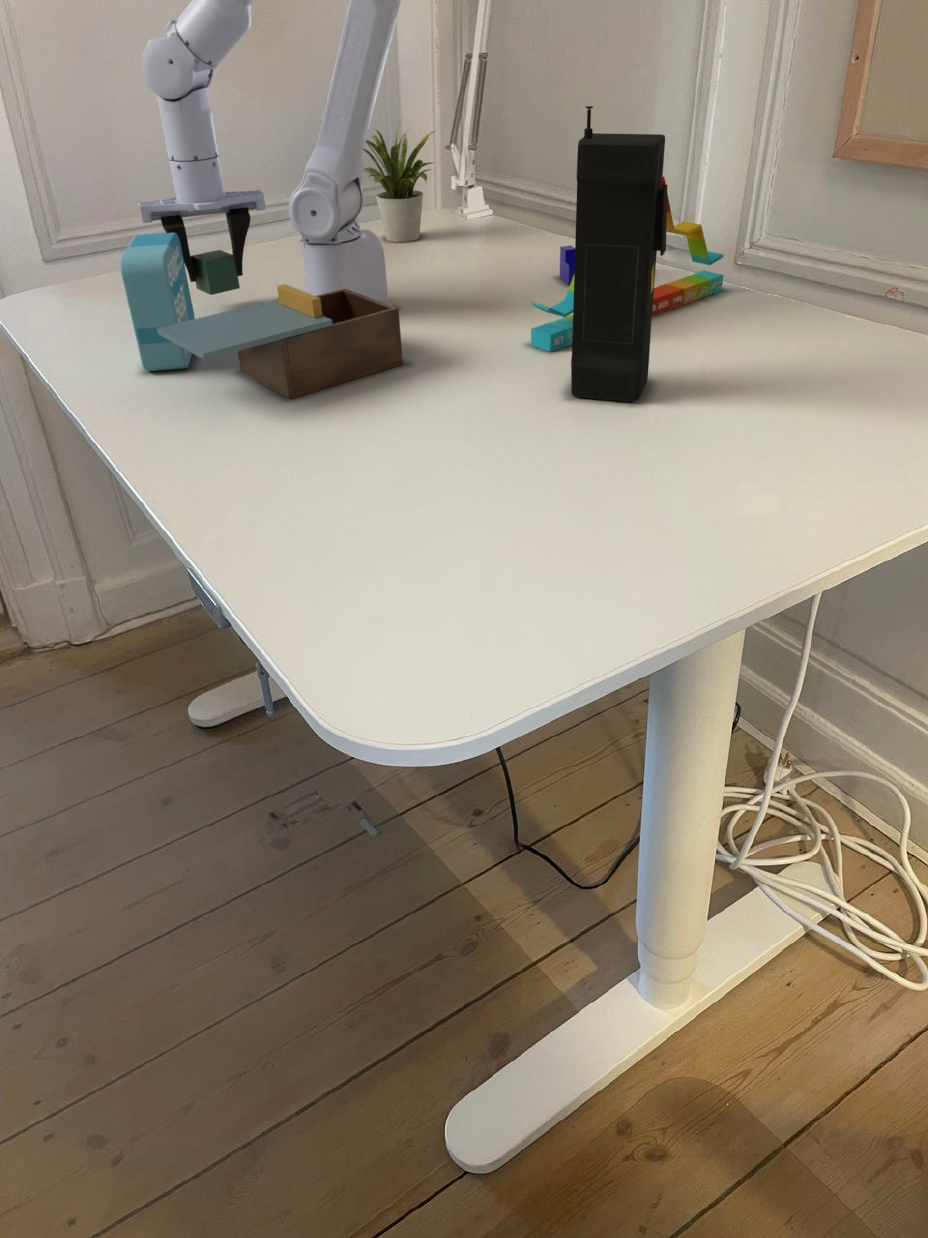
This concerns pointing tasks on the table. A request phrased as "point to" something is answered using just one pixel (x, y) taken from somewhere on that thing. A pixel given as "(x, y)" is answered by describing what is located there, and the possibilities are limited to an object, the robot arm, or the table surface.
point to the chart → (664, 295)
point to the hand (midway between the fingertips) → (215, 276)
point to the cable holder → (567, 263)
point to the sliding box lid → (249, 325)
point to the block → (215, 272)
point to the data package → (157, 297)
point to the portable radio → (616, 261)
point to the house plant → (398, 188)
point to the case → (329, 347)
